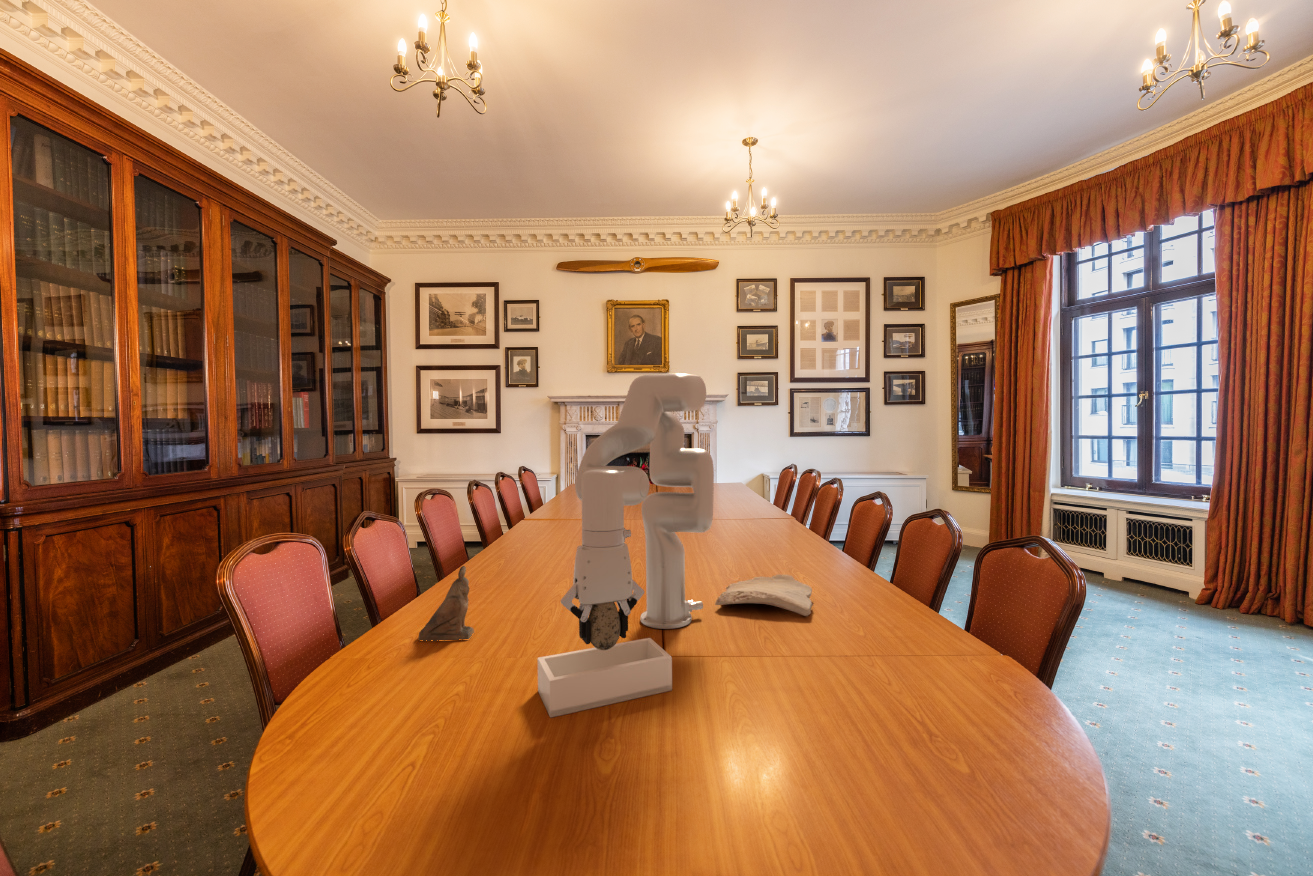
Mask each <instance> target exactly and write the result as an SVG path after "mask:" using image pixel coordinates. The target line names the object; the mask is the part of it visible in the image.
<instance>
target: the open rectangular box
mask: <svg viewBox="0 0 1313 876" xmlns="http://www.w3.org/2000/svg"><path fill="white" fill-rule="evenodd" d="M670 691H673V658H672V656H671V655H670V653H668V652H667V651H666V650H664V648H662V647H661V646H660V645H659V644H658V643H656V641H654V639H652V638H651V637H646V638H640V639H635V640H630V641H625V642H617V643H616V644H615V645H614V646H613V647H612V648H610V649H608V650H599V649H597V648H595V647H590V648H585V649H578V650H574V651H569V652H563V653H557V654H556V653H555V654H551V655H546V656H545V655H544V656H539V657H537V692H538V694H539V697H540V698H541V701H542V702H543V705H544V707H545V709H546V711H547V713H548V716H549V717H550V718H554V717H559V716H560V717H561V716H564V715H568V714H572V713H577V712H581V711H585V710H591V709H595V708H600V707H603V706H604V707H605V706H608V705H612V704H617V703H621V702H625V701H631V700H634V699H639V698H643V697H647V696H652V695H656V694H661V693H666V692H670Z"/></svg>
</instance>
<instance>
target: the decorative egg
mask: <svg viewBox="0 0 1313 876" xmlns="http://www.w3.org/2000/svg"><path fill="white" fill-rule="evenodd" d="M618 611H619V609H618V608H617V604H616V602H611V603H603V604H597V605H592V607H591V610H590V613H589V616H588V620H589V621H590V636H591V643H590V644H591V645H592V646H593V648H597V649H599V650H608V649H610V648H612V647H613V646H614V645H615V644H618V641H619V638H620V637H621V636H620V630H621V625H620V618H619V614H618Z"/></svg>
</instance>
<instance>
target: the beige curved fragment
mask: <svg viewBox="0 0 1313 876" xmlns="http://www.w3.org/2000/svg"><path fill="white" fill-rule="evenodd" d="M725 589H726V590H725V591H724V592H722V593H721V594H720V595H719V597H717V599H716V601H715V603H714V605H715V606H720V605H721V606H722V605H735V604H760V605H769V606H772V607H773V606H774V607H777V608H780V609H784V610H787V611H791V612H793V613H796V614H799V615H801V616H803V617H809V615H811V613H812V606H814V604H813V603H812V600H811V599H810V598H811V596H812V592H813V590H812V587H811V586H810V585H808V584H805V583H803V582H800V581H799V580H796V579H795V578H794V576H793V575H790V574H776V575H772V576H763V575H762V576H754V577H753V578H751V579H746V580H742V581H737V582H735V583H734V582H733V583H730V584H729V585H728V586H727V587H726V588H725Z"/></svg>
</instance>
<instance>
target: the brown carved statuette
mask: <svg viewBox="0 0 1313 876" xmlns="http://www.w3.org/2000/svg"><path fill="white" fill-rule="evenodd" d="M466 570H467V568H466V566H465V565H462V566H461V567H460V568H459V571H458V574H457V575H458V576H457V577H458V578H456V579H455V580H454V581H453V582H452V584H451V585H450V587H449V589H448V592H447V593H446V596H445V598H444V599H443V601H442V602H441V603H440V605H439V606H438V607H437V609H436V611H435V612H434V613H433V614H432V615H431V617H430V619H429V620H428V622H427V623H425V625H424V626H423V627H422V629H420V631H419V633H418V639H419V640H423V641H426V640H427V641H431V640H433V641H435V642H436V641H437V640H438V641H439V640H459V639H469V638H470V637H471V636H472V634H473V633H474V634H475V629H474V628H473V627H472V626H467V625H466V624H465V623H466V621H465V620H466V616H467V612H468V610H469V609H468V608H469V601H470V600H469V592H470V586H469V584H470V583H469V582H470V581H469V579H468V578H467V577H466V576H465V575H466V572H467V571H466ZM472 637H473V636H472ZM472 637H471V638H472ZM471 638H470V639H471ZM433 641H432V642H433Z"/></svg>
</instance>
